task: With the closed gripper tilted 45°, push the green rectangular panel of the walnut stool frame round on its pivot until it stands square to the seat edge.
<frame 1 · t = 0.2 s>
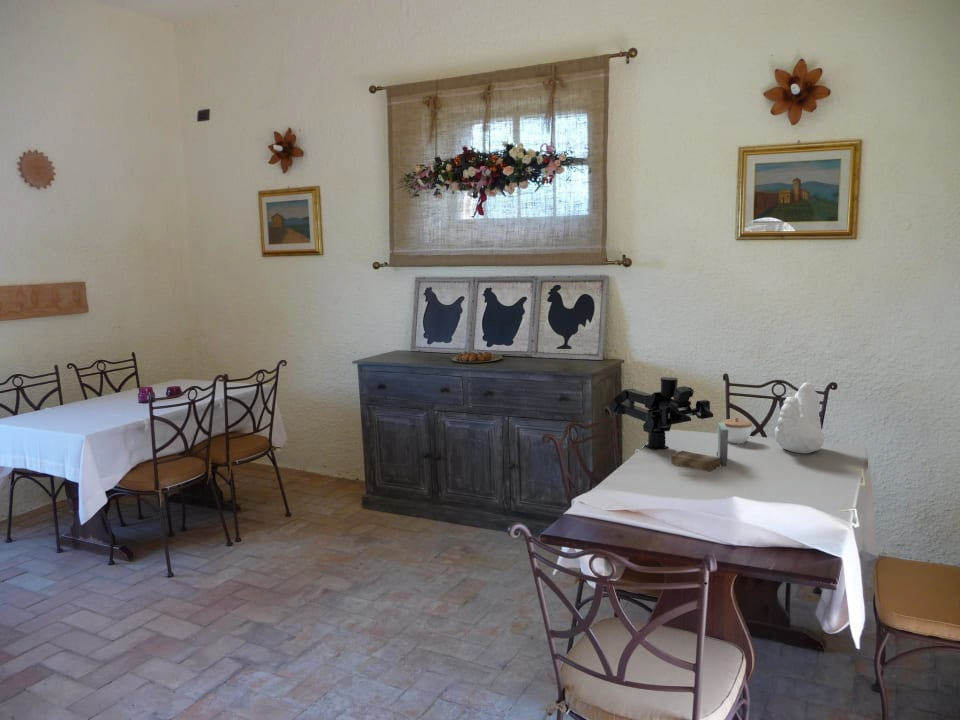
hand: (701, 417, 241), 16 cm above the table, tool horizontal, fingers open, 9 cm apart
lidded jar: (736, 442, 272), on the table
green rectangular panel: (722, 443, 245), point 6 cm above the table, hinge at 30.0°
decorative rooster: (792, 452, 257), on the table
stool seat: (695, 465, 242), on the table
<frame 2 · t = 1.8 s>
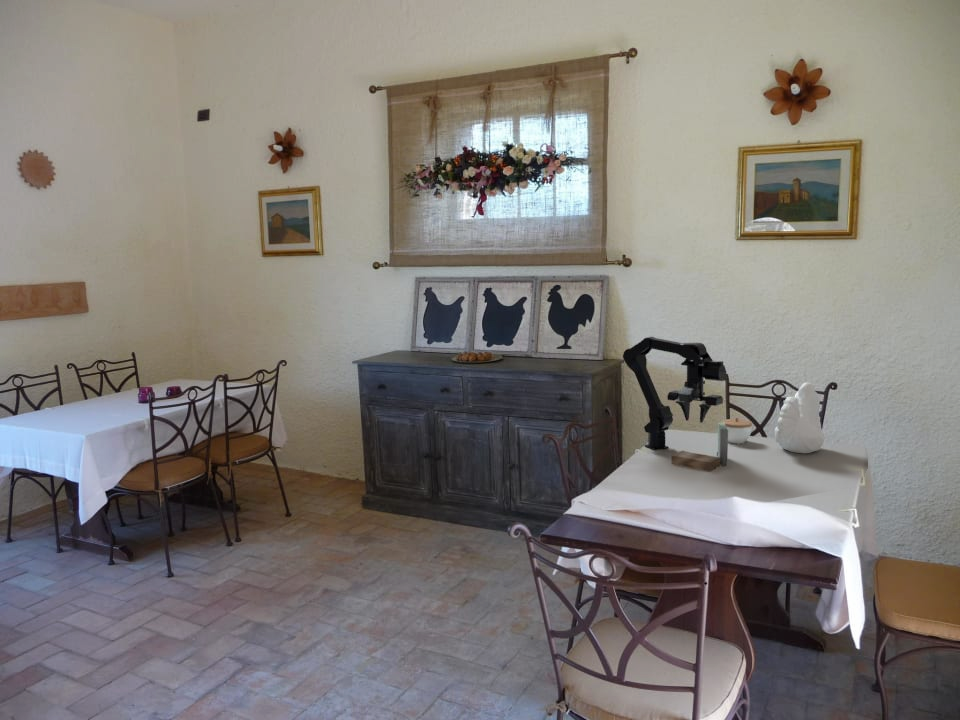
hand: (694, 421, 254), 12 cm above the table, tool pointing down, fingers open, 5 cm apart
nothing on the table moved.
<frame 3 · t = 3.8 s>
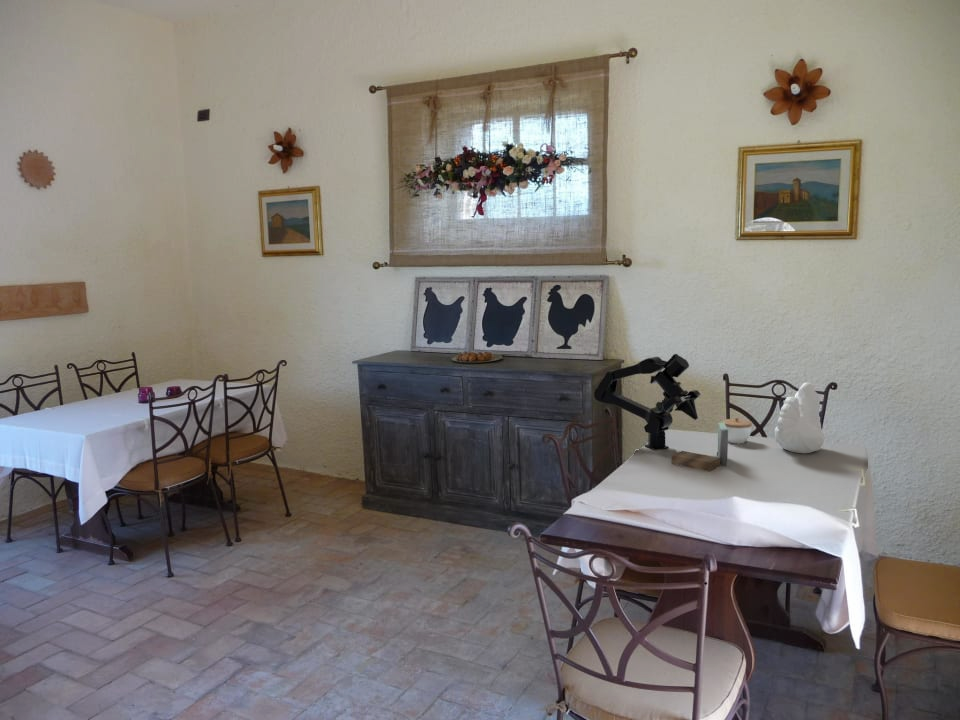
hand: (696, 419, 254), 13 cm above the table, tool tilted 45°, fingers closed
nothing on the table moved.
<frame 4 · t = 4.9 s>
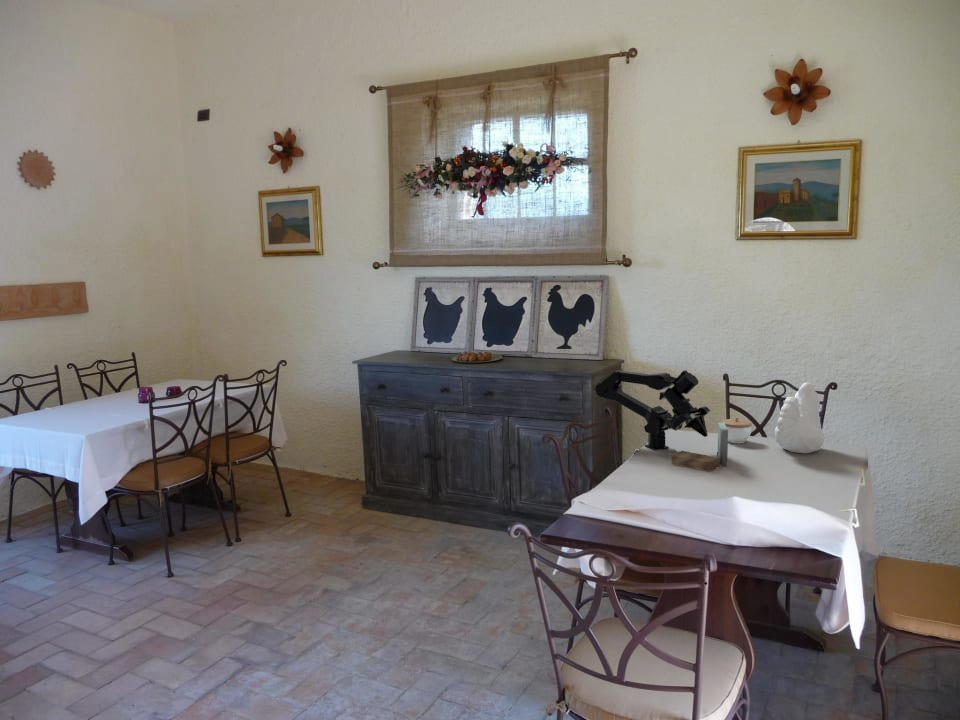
hand: (706, 436, 252), 7 cm above the table, tool tilted 45°, fingers closed
nothing on the table moved.
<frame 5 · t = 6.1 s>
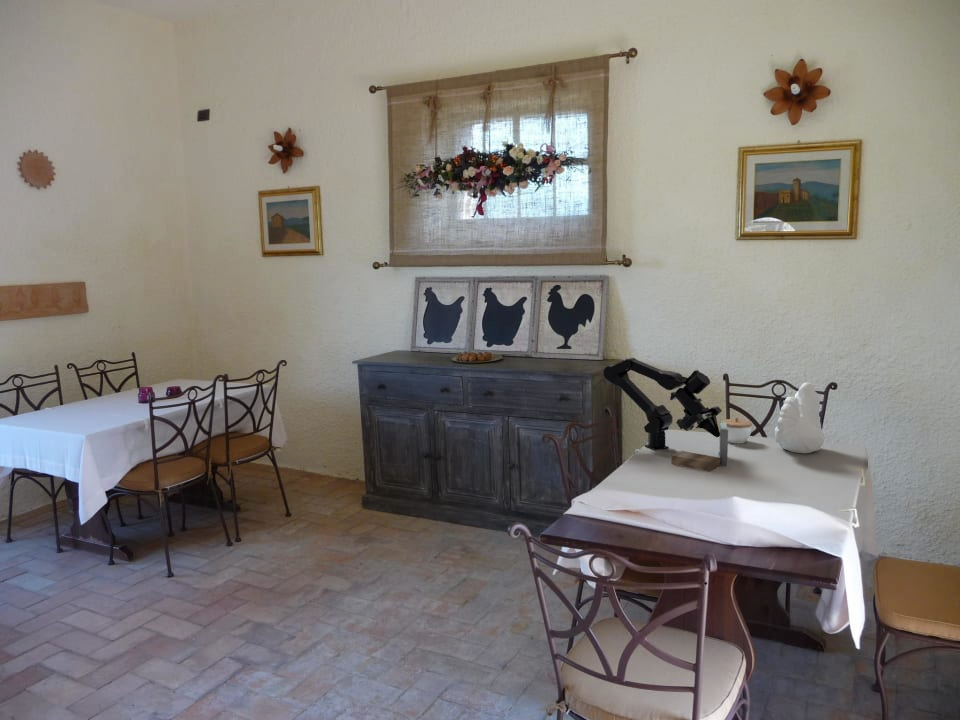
hand: (718, 436, 249), 8 cm above the table, tool tilted 45°, fingers closed
green rectangular panel: (723, 443, 245), point 6 cm above the table, hinge at 27.1°, touching gripper
everything else where it was.
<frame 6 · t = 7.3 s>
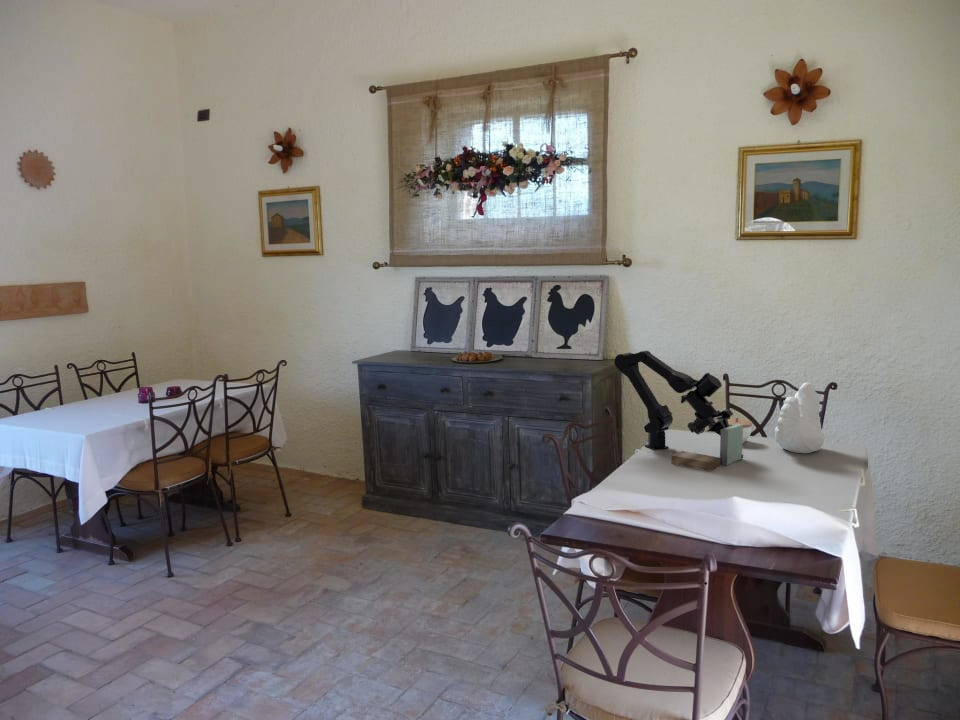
hand: (730, 440, 246), 7 cm above the table, tool tilted 45°, fingers closed, pressing on green rectangular panel
green rectangular panel: (731, 444, 244), point 6 cm above the table, hinge at -1.9°, touching gripper
everything else where it was.
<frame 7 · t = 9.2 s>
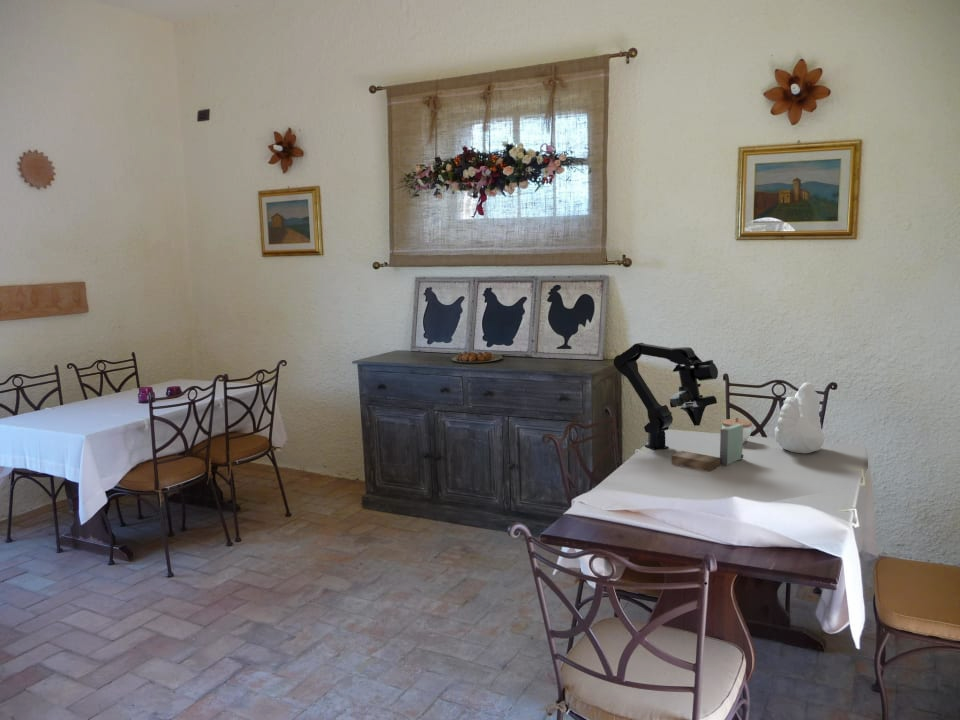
hand: (697, 425, 254), 11 cm above the table, tool pointing down, fingers closed
green rectangular panel: (731, 444, 244), point 6 cm above the table, hinge at -2.0°
everything else where it was.
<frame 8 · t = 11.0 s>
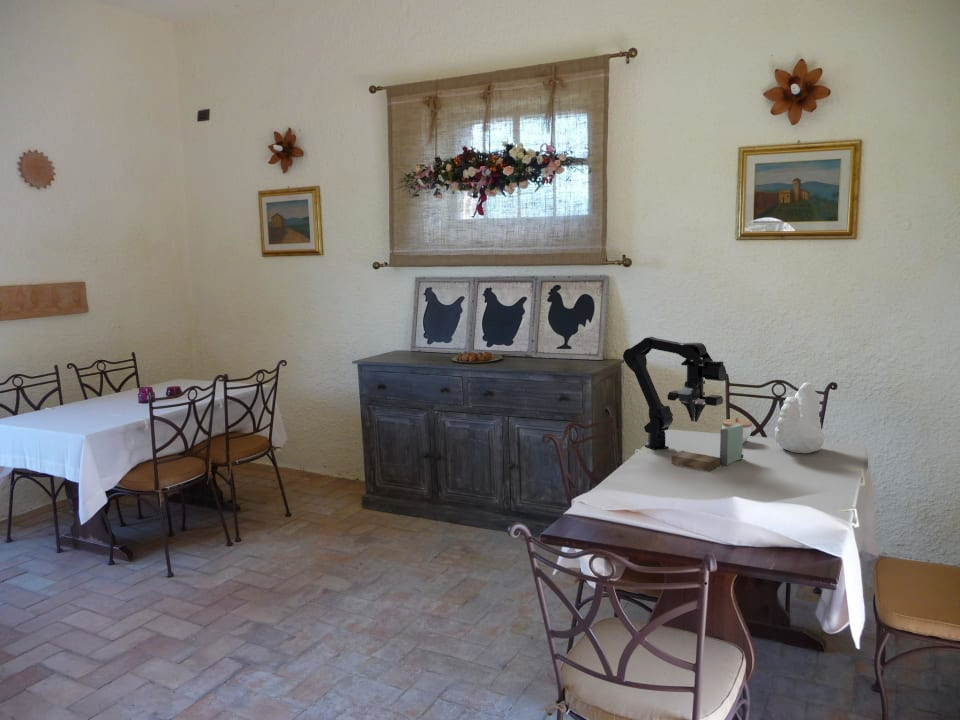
hand: (694, 421, 254), 12 cm above the table, tool pointing down, fingers closed
nothing on the table moved.
at the end: green rectangular panel at -2° (first picture: +30°) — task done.
